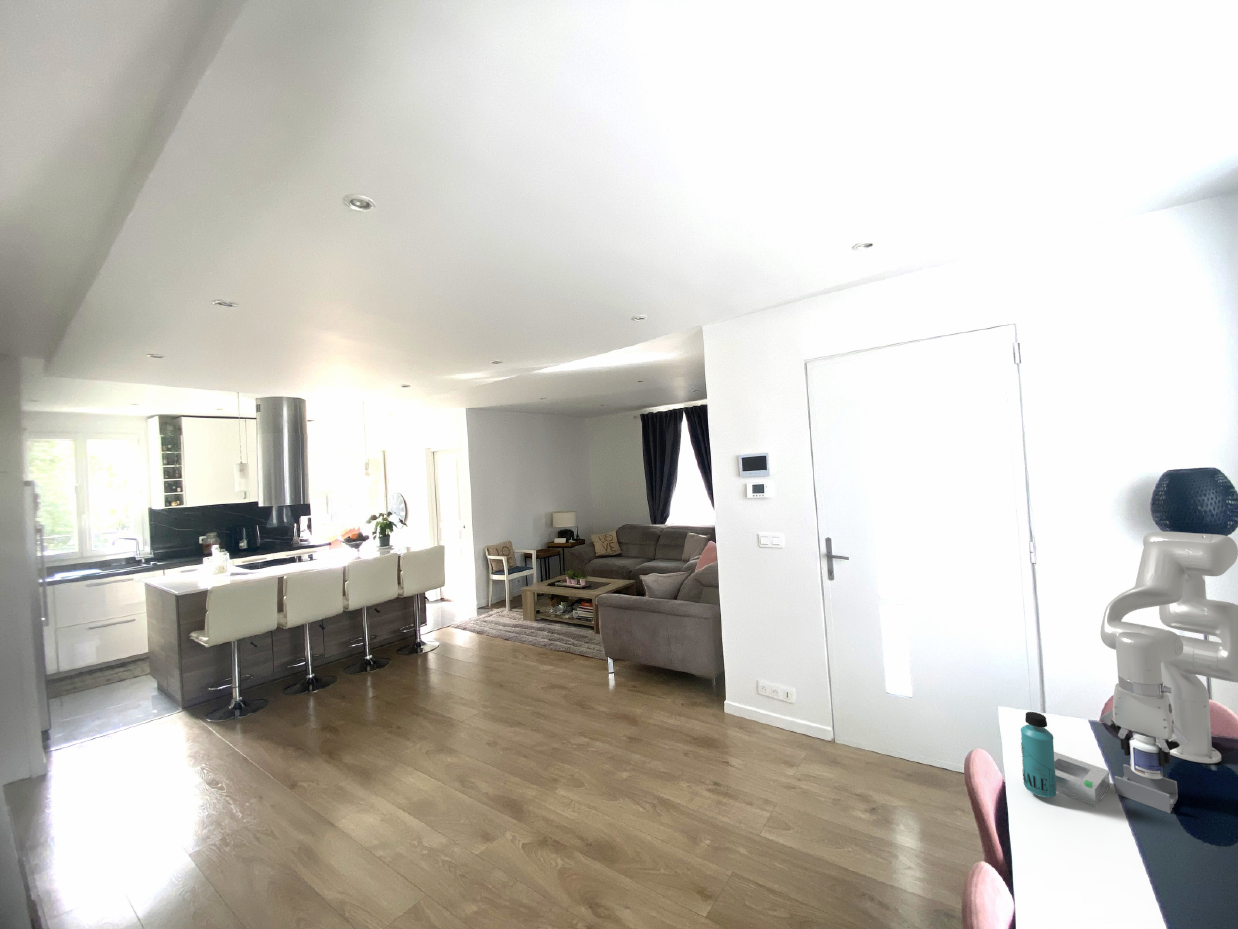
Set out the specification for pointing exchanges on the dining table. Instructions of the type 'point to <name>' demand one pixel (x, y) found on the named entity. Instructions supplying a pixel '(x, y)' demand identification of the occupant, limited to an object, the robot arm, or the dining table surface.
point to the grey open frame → (1147, 789)
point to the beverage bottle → (1038, 756)
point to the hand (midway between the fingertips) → (1145, 758)
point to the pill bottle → (1145, 756)
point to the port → (1080, 779)
